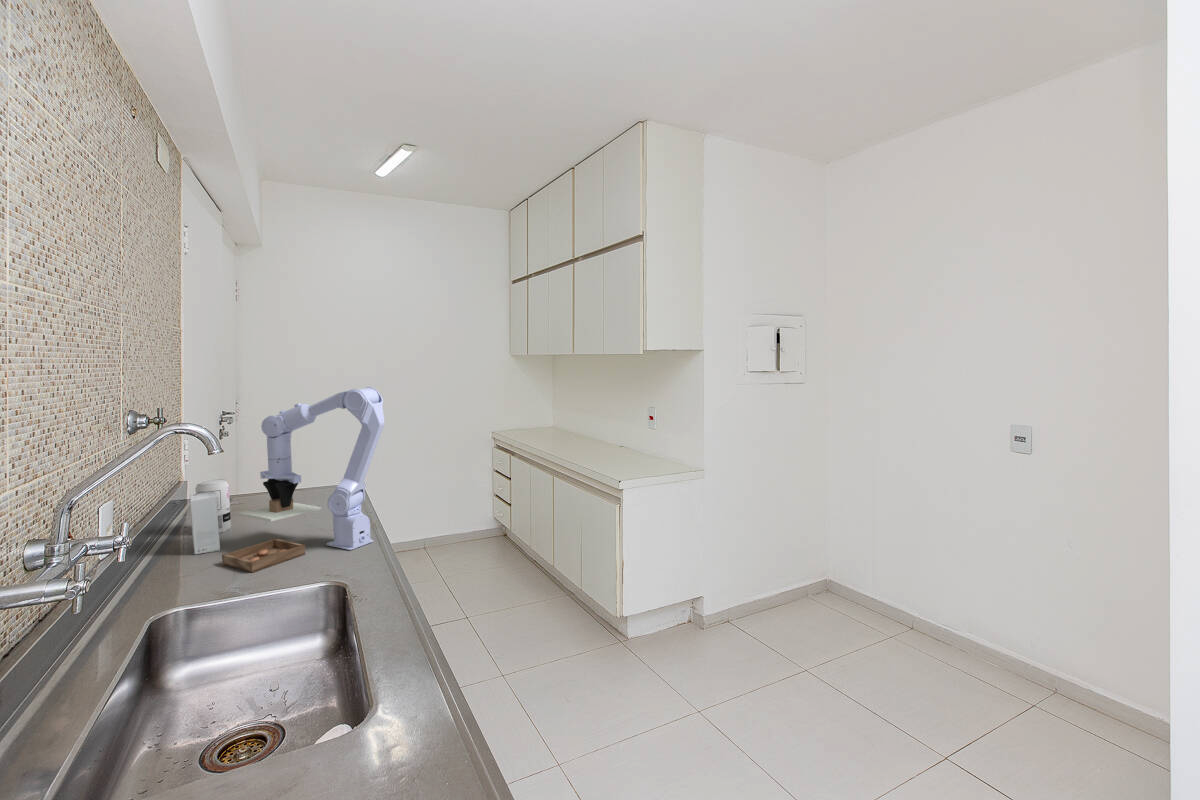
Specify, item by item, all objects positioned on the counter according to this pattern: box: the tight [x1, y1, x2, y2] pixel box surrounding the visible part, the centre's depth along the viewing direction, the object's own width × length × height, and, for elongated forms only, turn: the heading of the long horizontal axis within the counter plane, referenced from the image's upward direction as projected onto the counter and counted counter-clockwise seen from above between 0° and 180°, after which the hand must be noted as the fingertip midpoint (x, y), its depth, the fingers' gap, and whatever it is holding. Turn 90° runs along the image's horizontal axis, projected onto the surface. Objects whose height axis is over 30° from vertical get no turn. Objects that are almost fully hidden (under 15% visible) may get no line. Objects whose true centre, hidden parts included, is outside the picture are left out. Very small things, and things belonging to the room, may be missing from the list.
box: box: [221, 538, 306, 574], centre depth 143 cm, size 12×14×2 cm
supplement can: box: [194, 478, 232, 534], centre depth 165 cm, size 8×8×15 cm
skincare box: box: [189, 492, 221, 555], centre depth 150 cm, size 8×6×15 cm
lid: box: [239, 497, 322, 522], centre depth 155 cm, size 13×15×4 cm
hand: (281, 505), depth 155 cm, fingers closed on lid, 3 cm apart
